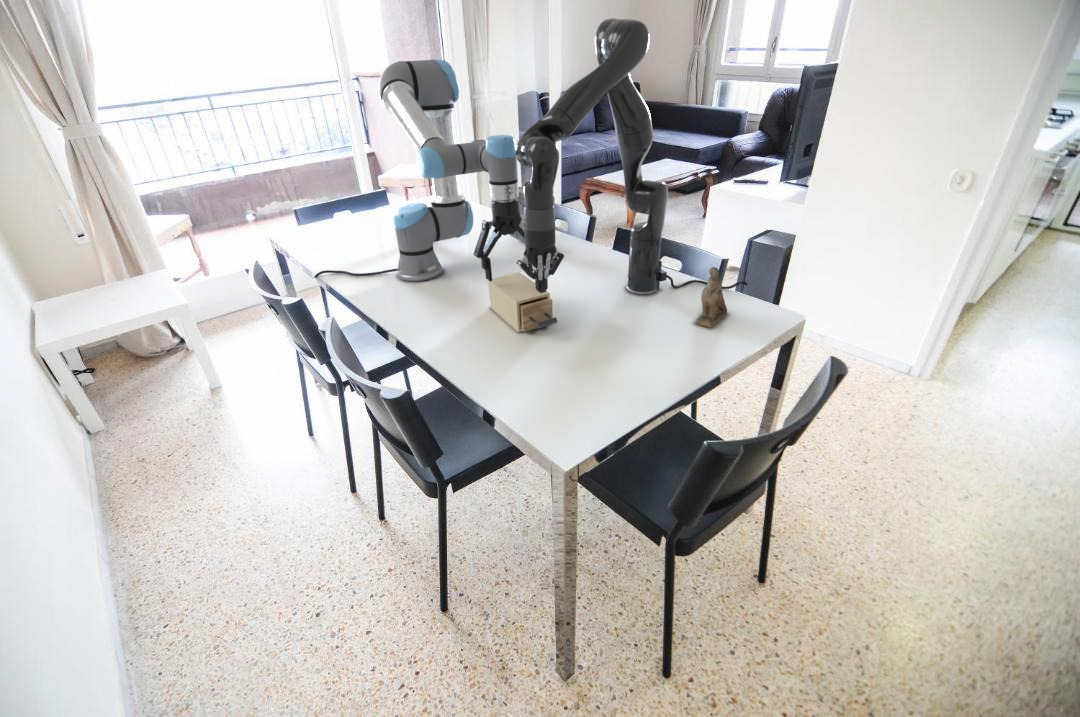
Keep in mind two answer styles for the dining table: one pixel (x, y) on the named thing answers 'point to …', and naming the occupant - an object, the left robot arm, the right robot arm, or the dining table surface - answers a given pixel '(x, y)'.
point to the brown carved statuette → (712, 301)
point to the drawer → (536, 314)
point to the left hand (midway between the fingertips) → (510, 274)
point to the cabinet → (512, 296)
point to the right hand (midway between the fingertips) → (541, 291)
